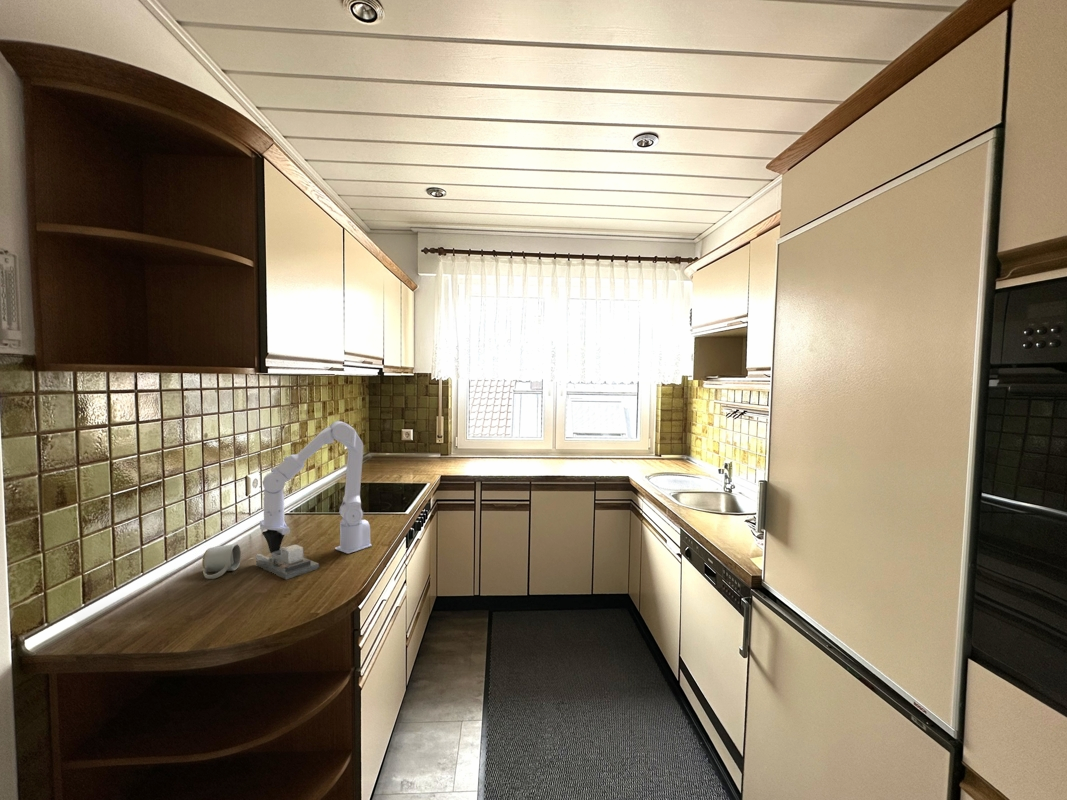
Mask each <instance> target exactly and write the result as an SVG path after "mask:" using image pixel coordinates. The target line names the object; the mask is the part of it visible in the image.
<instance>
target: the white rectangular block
mask: <svg viewBox="0 0 1067 800" xmlns="http://www.w3.org/2000/svg"><path fill="white" fill-rule="evenodd" d="M284 547H285V548H281V547H280V550H281V565H283V566H285V567H286V566H289V565H292V564H295V563H298V562H302V561H303V557H304V546H301V545H298V544H296V543H295V544H292V545H289V546H284Z"/></svg>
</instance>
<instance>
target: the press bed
mask: <svg viewBox="0 0 1067 800" xmlns="http://www.w3.org/2000/svg"><path fill="white" fill-rule="evenodd" d="M285 547H286V546H280V549H281V548H285ZM255 557H256V563H255V564H256V565H257V566H256V567H258V566H259V568H260V567H261V569H262V568H263V570H265V571H267V572H269V573H271V572H272V573H271V574H273V573H274V574H273V575H275V574H276V575H275V576H278V577H280V578H282V579H284V580H290V579H293V578H296V577H298V576H301V575H304V574H307V573H310V572H312V571H315V570H318V569H320V563H319V562H316V561H313V560H311V559H308V558H306V557H304V556H303V561H302V562H298V563H295V564H292V565H289V566H286V567H285V566H283V565H281V564H280V565H278V564H275V563H274V560H273V559H272V555H271V556H266V555H264V554H261V553H257V554H256V556H255Z"/></svg>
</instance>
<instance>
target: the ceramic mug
mask: <svg viewBox="0 0 1067 800" xmlns="http://www.w3.org/2000/svg"><path fill="white" fill-rule="evenodd" d="M241 559H242V552H241V547H240V545H239V544H237V543H233V544H226V545H225V544H224V545H220V546H213V547H209V548H207V549H206V550H205V552H204V553H203V556H202V567H203V570H202V572H203V576H204V578H205V579H207V580H214V579H217V578H219V577H221V576H223V575H224V574H225V573H226V572H231V571H232V572H233V571H236V570H237V569H238V568H239V566H240V563H241ZM208 572H210V573H211V572H212V573H213V574H207V573H208ZM214 572H215V573H214Z"/></svg>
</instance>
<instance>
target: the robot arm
mask: <svg viewBox="0 0 1067 800" xmlns="http://www.w3.org/2000/svg"><path fill="white" fill-rule="evenodd" d="M334 440H336V441H337V442H339V443H341V444H342V445H343V446H345V448H346V449H347V458H346V459H347V460H346V474H345V488H344V495H343V498H342V503H341V505H340V507H339V512H338V513H339V515H340V516H341V518H342V519H341V520H340V522H339V542H340V543H339V546H336V547H334V550H336V551H338V552H342V553H345V554H347V555H349V554H352V553H354V552H357V551H361V550H364V549H367V548H370V547H372V544H371V525H370V522H369V521H368V520H366V519H363V517H364V510H362V501H361V486H362V485H361V483H362V470H363V458H364V443H363V441H362V439H361V438H360V436H359V435H358V433H357V430H356V429H355V428H354V427H352V426H351V425H350V424H349V423H346V422H344V421H341V420H336V421H334V422H332V423H330V425H329V426H327V427H325V428H324V429H323V430H321V431H320V432H319V433H318V434H317V435H316V436H315V437H314V438H313V439H312V440H311V441H310V442H308V444H306V445H305V447H303V448H302V449H301V450H300V451H299V452H298V453H297V454H290V455H289V456H288V455H286V456H284V457H283V461H282V462H280V463H279V464H278V465H277V466H276V467H273V468H271V470H270V471H271V472H268V473H267V474H266V475H265V476H264V477H263V480H262V485H263V488H264V489H263V490H264V491H263V520H259V529H260V530H262V536H263V537H264V538H265V540H266V543H267V546H268V550H269V553H270V554H272V552H275V551H278V550H281V547H282V546H281V545H282V542H283V539H284V537H285V535H290V527H289V526H287V524H286V522H285V495H284V487H285V485H286V483H287V482H289V481H290V480H291V479H293V478H294V477H295V476H296V475H297V474H298V473H299V472H301V470H303V468H304V467H305V462H306V460H308V459H309V458H310V457H311V456H313V455H314V454H315V453H317V451H319V450H320V449H321V448H322V447H323V446H324V445H330V444H334V443H335V441H334ZM263 530H264V531H263Z"/></svg>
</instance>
